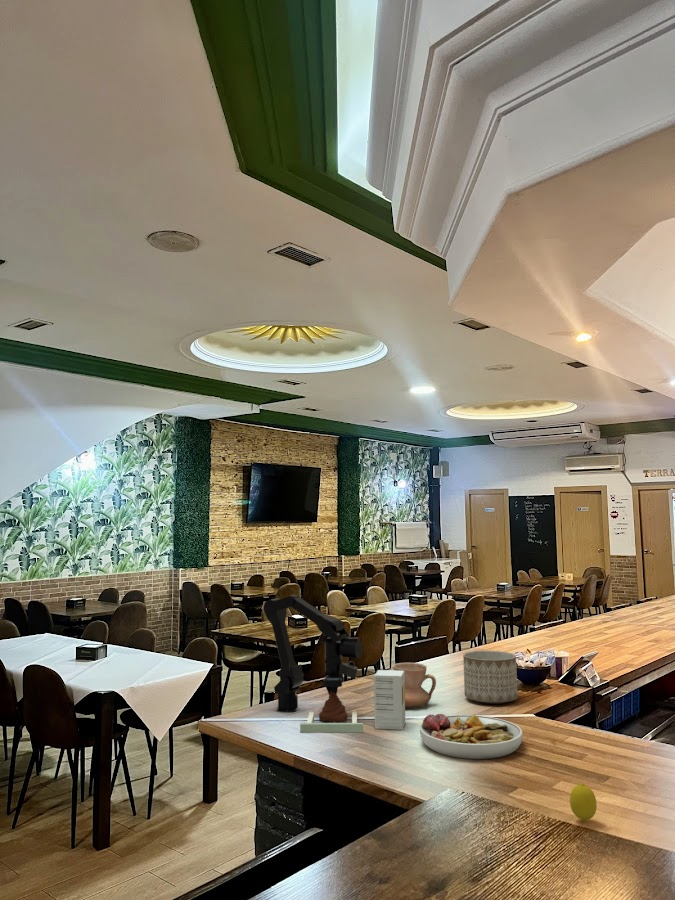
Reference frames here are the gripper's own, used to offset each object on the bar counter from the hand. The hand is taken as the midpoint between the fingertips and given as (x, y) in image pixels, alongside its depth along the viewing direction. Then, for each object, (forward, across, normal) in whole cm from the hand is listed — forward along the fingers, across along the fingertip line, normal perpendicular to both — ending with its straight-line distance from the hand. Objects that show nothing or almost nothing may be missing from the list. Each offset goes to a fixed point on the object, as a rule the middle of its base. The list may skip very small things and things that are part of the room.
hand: (333, 702), depth 235 cm
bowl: (+5, -32, -42) cm, 53 cm away
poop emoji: (+5, -5, 0) cm, 7 cm away
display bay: (+4, -11, 0) cm, 12 cm away
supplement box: (+5, -12, -19) cm, 23 cm away
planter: (+5, +20, -58) cm, 62 cm away
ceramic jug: (+5, +13, -28) cm, 31 cm away
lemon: (+4, -85, -57) cm, 102 cm away
